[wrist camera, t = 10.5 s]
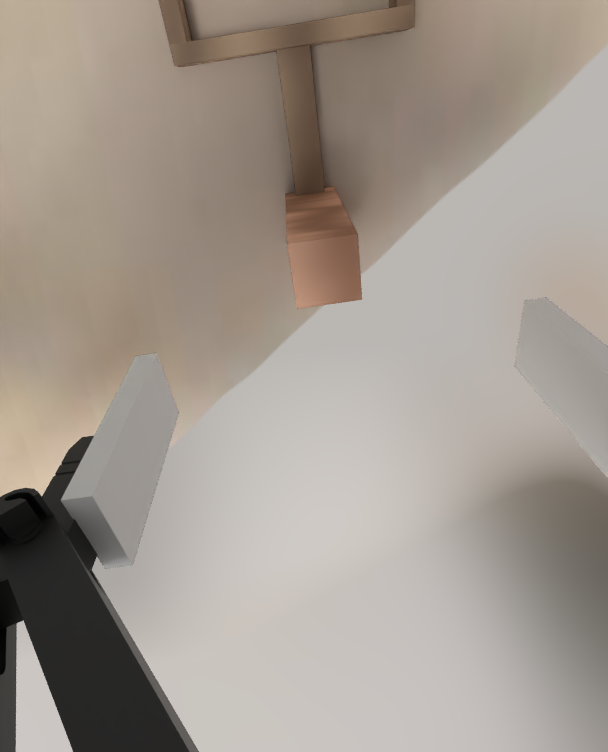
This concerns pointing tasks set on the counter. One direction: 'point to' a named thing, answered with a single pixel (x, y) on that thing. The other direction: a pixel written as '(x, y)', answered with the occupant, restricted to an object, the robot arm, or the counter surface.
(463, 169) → the counter surface
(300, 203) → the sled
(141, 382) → the robot arm
